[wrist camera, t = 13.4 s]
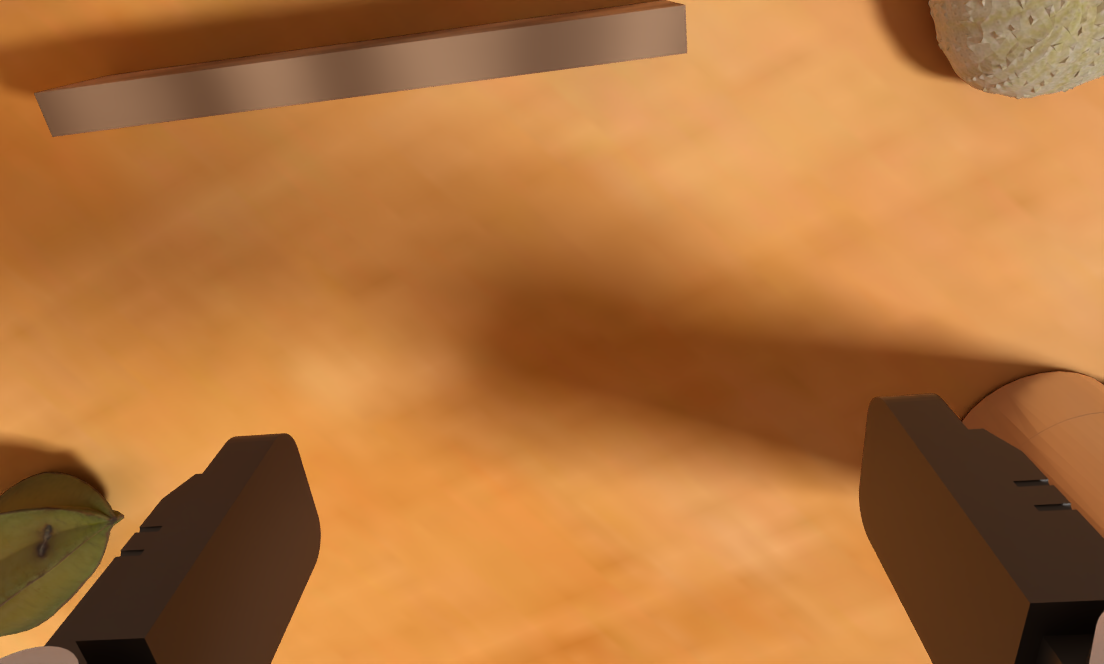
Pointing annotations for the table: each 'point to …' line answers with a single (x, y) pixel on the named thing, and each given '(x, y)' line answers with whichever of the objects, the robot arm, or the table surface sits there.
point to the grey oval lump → (1022, 43)
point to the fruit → (48, 546)
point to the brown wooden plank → (368, 67)
